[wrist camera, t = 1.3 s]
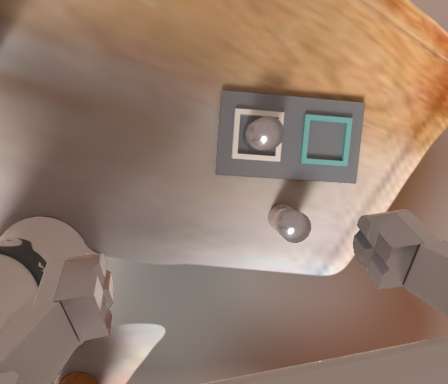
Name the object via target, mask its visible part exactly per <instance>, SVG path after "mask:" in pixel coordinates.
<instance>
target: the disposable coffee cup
mask: <svg viewBox="0 0 448 384" xmlns="http://www.w3.org/2000/svg"><path fill="white" fill-rule="evenodd" d="M60 384H97V383H96V381H95V379H94V378H93V377H92V376H90V375H89V374H87V373H83V372H74V373H71V374H69V375H67V376H66V377H65V378H64V379H63V380H62V381H61V382H60Z"/></svg>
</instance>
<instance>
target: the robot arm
mask: <svg viewBox="0 0 448 384" xmlns="http://www.w3.org/2000/svg"><path fill="white" fill-rule="evenodd" d="M357 226H358V228H359V229H360V230H359V232H358V233H357V234H356V235H355V236H354V240H353V248H354V253H355V255H356V257H357V259H358V261H359V262H360V263H361V264H363V265H364V266H366V267H368V271H367V274H368V276H369V277H370V278H371V280H372V281H373V283H374V284H375V286H376V287H377V289H378V290H379V289H384V288H385V289H386V288H393V287H400V286H403V288H405V289H406V290H408V291H409V292H411V293H412V294H414V295H415V296H416V297H418V298H420V299H421V300H422V301H424V302H425V303H427V304H428V305H430V306H431V307H433V308H434V309H436V310H437V311H439V312H440V313H442V314H443V315H444V316H446V317H447V318H448V242H446V241H439V240H438V239H437V238H436V237H435V236H434V235H433V234H432V233H431V232H430V231H429V230H428V229H427V228H426V227H425V226H424V225H423V224H422V223H421V222H420V221H419V220H418V219H417V218H416V217H415V216H414V215H413V214H412V213H411V212H410V211H408V210H406V209H403V210H396V211H390V212H384V213H378V214H371V215H364V216H361V217H360V218H359V220H358V224H357ZM106 268H107V260H106V257H105V254H103V253H99V254H97V253H95V252H94V251H92V250H91V249H89V247H88V246H87V245H86V244H85V242H84V240H83V239H82V237H81V236H80V235H79V234H78V233H77V232H76V231H75V230H74V229H73V228H72V227H71V226H69V225H68V224H66V223H64V222H62V221H60V220H57V219H54V218H50V217H31V218H26V219H23V220H21V221H19V222H17V223H15V224H13V225H12V226H10V227H9V228H8V229H7V230H6V231H5V232H4V233H3V234H2V235H1V237H0V384H52V382H53V381H54V380H55V378H56V377H57V375H58V374H59V372H60V371H61V370H62V368H63V367H64V365H65V364H66V362H67V361H68V359H69V358H70V357H71V355H72V354H73V352H74V351H75V349H76V348H77V347H79V346H81V345H82V344H83V343H84V341H86V340H91V339H96V338H101V337H106V336H110V329H111V320H112V314H111V311H110V309H109V307H110V306H111V305H112V304H113V301H114V284H113V278H112V275H111V272H109V271H107V270H106ZM203 384H448V336H444V337H439V338H434V339H429V340H424V341H419V342H413V343H408V344H403V345H398V346H393V347H388V348H383V349H378V350H372V351H368V352H362V353H357V354H352V355H347V356H342V357H337V358H331V359H326V360H322V361H316V362H311V363H306V364H301V365H295V366H290V367H285V368H280V369H275V370H270V371H265V372H259V373H254V374H250V375H244V376H239V377H234V378H229V379H223V380H218V381H214V382H209V383H203Z"/></svg>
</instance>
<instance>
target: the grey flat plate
mask: <svg viewBox="0 0 448 384" xmlns="http://www.w3.org/2000/svg"><path fill="white" fill-rule="evenodd" d="M364 106H365V103H363V102H351V101H340V100H329V99H317V98H306V97H295V96H284V95H272V94H261V93H250V92H239V91H227V90H222V91H221V100H220V115H219V130H218V145H217V160H216V175H231V176H246V177H262V178H277V179H293V180H308V181H324V182H340V183H355V184H356V178H357V169H358V160H359V151H360V142H361V133H362V124H363V115H364ZM263 116H273V117H275V118H277V119H278V120H279V121H280V122H281V123H282V125H283V127H284V138H283V141H282V142H281V144H280V145H279V146H278V147H276V148H274V149H271V150H253V149H250V148H249V147H247V146H246V144H245V143H244V140H243V131H244V129H245V127H246V126H247V125H248V124H249V123H251V122H253V121H255V120H257V119H259V118H261V117H263Z"/></svg>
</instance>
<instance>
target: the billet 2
mask: <svg viewBox="0 0 448 384" xmlns="http://www.w3.org/2000/svg"><path fill="white" fill-rule="evenodd" d="M268 220H269V223H270V225H271V226H272V227H273V228H274V229H275V230H276V231H277V232H278V233H279V234H280V235H281V236H282V237H284V238H285V239H286V240H287V241H289V242H292V243H298V242H301V241H303V240H304V239H306V238H307V237H308V235H309V233H310V230H311V223H310V220H309V219H308V217H307V216H306V215H304V214H303V213H301V212H299V211H297V210H295V209H294V208H292V207H290V206H288V205H286V204H278V205H276V206H274V207H273V208H272V209H271V210H270V212H269V215H268Z"/></svg>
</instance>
